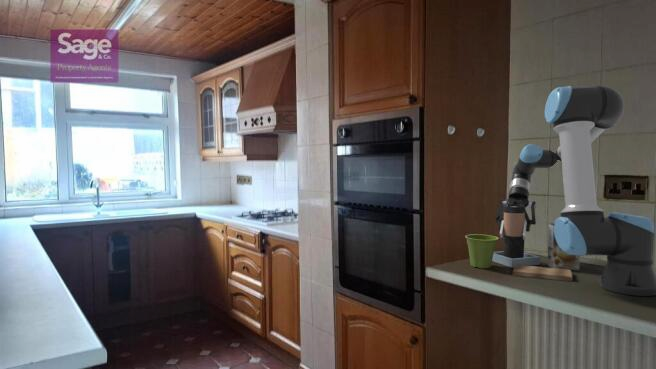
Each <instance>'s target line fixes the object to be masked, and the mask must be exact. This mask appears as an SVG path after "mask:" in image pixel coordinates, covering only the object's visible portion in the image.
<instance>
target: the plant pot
mask: <svg viewBox="0 0 656 369" xmlns="http://www.w3.org/2000/svg"><path fill="white" fill-rule="evenodd" d="M464 237H465V239H466V244H467V247H468V254H469V255H468V256H469V262H470V266H472V267H473V268H476V267H477V268H478V269H489V268H491V267H492V263H493V261H492V258H493V254H494V252H495V248H496V245H497V241H498V240H499V237H497V236H494V235H490V234H481V233H480V234H479V233H478V234H477V233H475V234H472V233H471V234H466V235H465V236H464Z"/></svg>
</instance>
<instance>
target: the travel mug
mask: <svg viewBox="0 0 656 369" xmlns="http://www.w3.org/2000/svg"><path fill="white" fill-rule="evenodd" d="M525 209H526V208H525V206H521V205H507V206H506V205H505V206H504V207H503V213H504V230H503V238H502V239H503V251H504V256H505V257H508V258H512V259H515V258H523V257H524V253H525V239H523V229H524V223H525V222H526V220H525Z"/></svg>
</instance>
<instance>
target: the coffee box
mask: <svg viewBox="0 0 656 369" xmlns="http://www.w3.org/2000/svg"><path fill="white" fill-rule="evenodd" d="M554 223H555V222H554ZM554 223H551V222H549V223H548V236H547V238H548V241H547V263H546V264H547V266H548V267H549V268H556V269H567V270H571V271H572V270H573V271H579V270H580V259H581V258H580V257H581V256H579V255H569V254H566V253H565V252H563V251H562V250H561V248H560V247H559V246H558V244H557V242H556V239H555V235H554V226H555V224H554Z"/></svg>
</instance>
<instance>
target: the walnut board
mask: <svg viewBox="0 0 656 369" xmlns="http://www.w3.org/2000/svg"><path fill="white" fill-rule="evenodd" d="M512 276H518V277H525V278H526V277H527V278H534V279H546V280H555V281H563V282H565V281H566V282H573V274H572V270H568V269H556V268H551V267H543V266H536V265H531V266H524V265H514V267H513V269H512Z"/></svg>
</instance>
